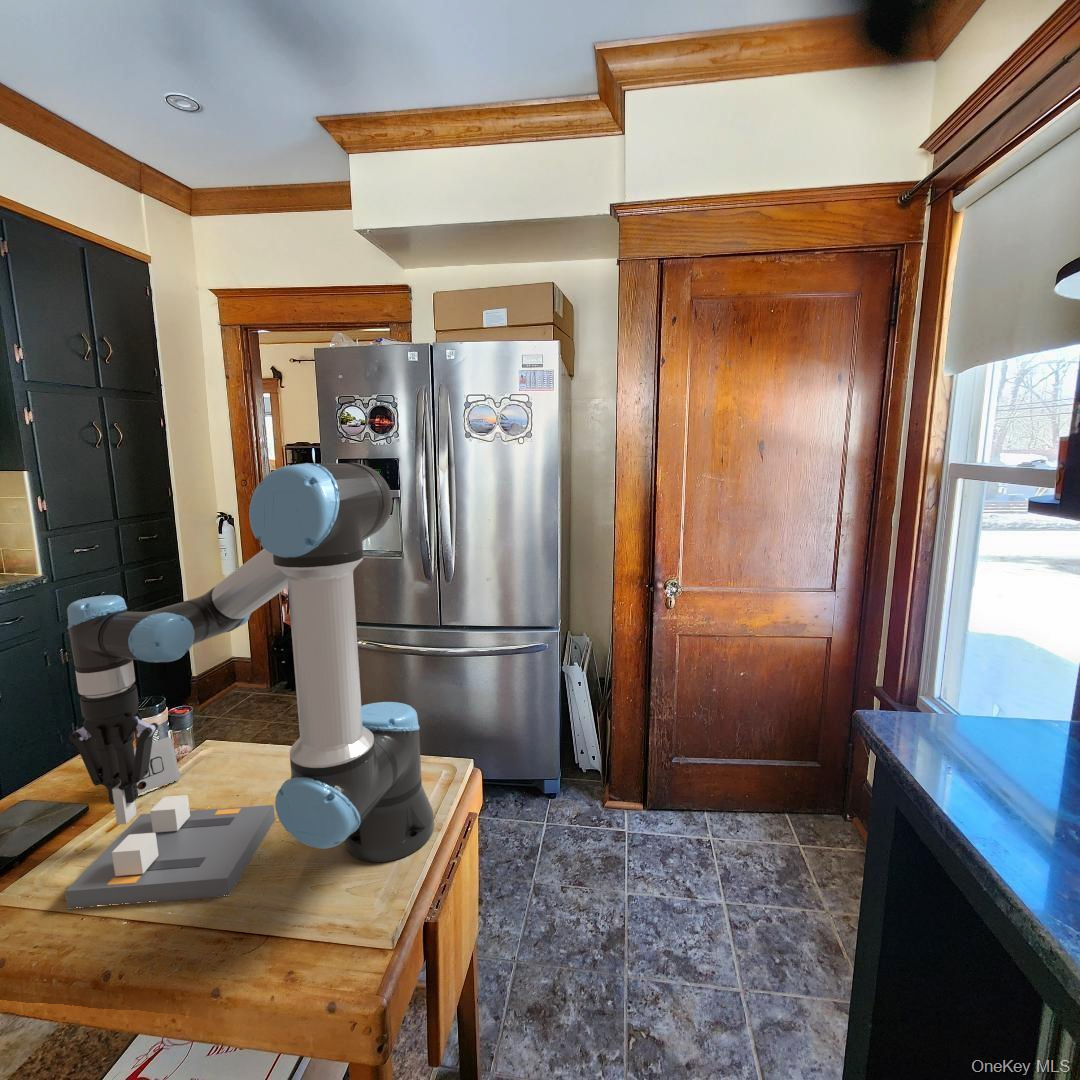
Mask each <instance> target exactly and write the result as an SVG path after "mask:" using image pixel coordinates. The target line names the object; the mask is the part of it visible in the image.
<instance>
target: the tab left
mask: <svg viewBox="0 0 1080 1080" xmlns="http://www.w3.org/2000/svg"><path fill="white" fill-rule="evenodd" d="M158 856H159V855H158V847H157V840H156V833H144V834H130V835H128V836H127V837H126V838H125V839H124V840H123V841H122V842H121V843H120V844H119V845H118V846H117V847H116V848H115V849H114V851H113V852H112V857H113V864H114V870H115V876H123V875H135V874H143V873H144V872H145V871H146V870H147V869H148V867H149V866H150V865H151V864H152V863H153V861H154V860H155V859H156V858H157V857H158Z"/></svg>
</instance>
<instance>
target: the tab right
mask: <svg viewBox="0 0 1080 1080" xmlns="http://www.w3.org/2000/svg"><path fill="white" fill-rule="evenodd" d="M189 802H190V801H189V796H188V795H187V794H184V795H171V796H167V795H166V796H163V797H162V798H161V799H160V800H159V801H158V802H157V803H156V804H155V805H154V807H152V808H151V809H150V810H149V812H150V813H149V814H151V822H152V829H153V833H154V832H167V831H178V830H179V829H180V827H181V826H182V825H183V824H184V823H185V821H186V820H187V819H188V818H189V817H190V811H191V810H190V804H189Z"/></svg>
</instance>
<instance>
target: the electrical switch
mask: <svg viewBox="0 0 1080 1080" xmlns="http://www.w3.org/2000/svg"><path fill="white" fill-rule="evenodd" d="M135 752H136V747H135V748H134V754H135ZM180 778H181V774H180V769H179V766H178V760H177V755H176V751H175V746H174V743H173V738H171V737H169V736H167V737H163V738H161V739H158V740H155V741H154V740H153V741H152V748H151V755H150V763H149V770H148V774H147V775H146V776H145V777H143V778H142V779H141V780H140V781H139V782H138V783H137V789H138V794H140V793H142V792H145V791H147V790H150V789H153V788H156V787H160V786H163V785H165V784H169V783H172V782H174V781H176V780H178V781H179V780H180ZM176 782H177V781H176ZM141 783H142V785H141V787H140V784H141ZM174 783H175V782H174ZM172 784H173V783H172ZM169 785H170V784H169Z"/></svg>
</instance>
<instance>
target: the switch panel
mask: <svg viewBox="0 0 1080 1080" xmlns="http://www.w3.org/2000/svg"><path fill="white" fill-rule="evenodd" d="M274 805H275V804H268V805H265V804H264V805H255V806H254V805H253V806H252V805H251V806H241V807H240V806H238V807H237V806H236V807H226V808H225V807H223V808H211V809H198V810H197V809H196V810H190V817H189V818H188V819H187V820H186V821H185V823H184V824H183V825H182V826H181V827H180V829H179V830H178V831H167V832H154V833H156V840H157V847H158V855H159V856H158V857H157V858H156V859H155V860H154V861H153V863H152V864H151V865H150V866H149V867H148V869H147V870H146V871H145V872H144V873H143V874H135V875H123V876H115V870H114V864H113V857H112V852H113V851H114V849H115V848H116V847H117V846H118V845H119V844H120V843H121V842H122V841H123V840H124V839H125V838H126V837H127V836H128V835H130V834H144V833H153V829H152V822H151V814H150V813H142V814H140V815H138V817H137V818H136V819H135V820H134V821H133V822H132V823H130V825H129V826H128V827H127V828H126V829H125V830H124V831H123V832H122V833H121V834H120V835H119V836H118V837H117V838H116V839H115V840H114V841H113V842H112V843H111V844H110V845H109V846H108V847H107V848H106V849H105V850H104V851H103V852H102V853H101V854H100V855H99V856H98V857H97V859H95V860H94V861H93V862H92V864H90V865H89V866H88V867H87V868H86V870H85V871H83V872H82V874H80V876H78V878H77V879H76V880H74V881H73V882H72V884H71V885H69V886H68V888H66V889H65V891H64V893H65V894H64V895H65V899H66V900H65V901H66V905H67V909H68V908H76V907H78V909H83V908H82V907H90V906H97V905H109V904H111V905H112V904H122V903H123V904H125V903H137V902H149V901H151V902H150V903H155V902H154V901H162V902H170V901H183V900H185V901H186V900H196V899H208V898H218V896H222V897H229V896H228V895H231V894H232V893H233V891H234V889H235V887H236V885H237V884H238V883H239V881H240V878H241V877H242V876H243V874H244V872H245V871H244V870H246V868H247V867H248V866H249V864H250V862H251V861H252V859H253V857H254V856H253V855H256V853H257V851H256V850H258V849H259V847H260V845H261V844H262V843H263V841H264V839H265V837H266V835H267V834H268V832H269V830H270V829H271V827H272V826H273V824H274V822H275V821H276V816H275V808H274ZM232 890H233V891H232ZM230 893H231V894H230ZM224 895H225V896H224ZM226 895H227V896H226ZM152 901H153V902H152ZM79 907H81V908H79ZM90 908H91V907H90Z"/></svg>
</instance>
